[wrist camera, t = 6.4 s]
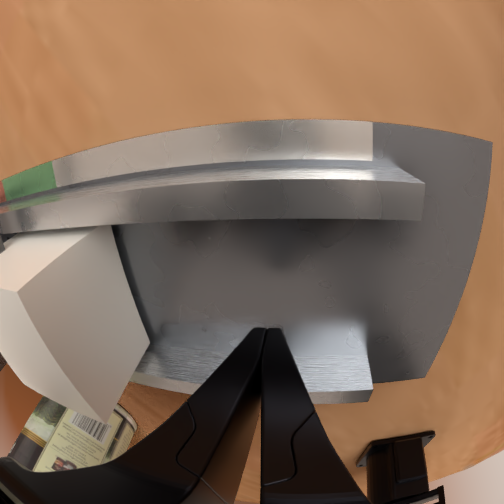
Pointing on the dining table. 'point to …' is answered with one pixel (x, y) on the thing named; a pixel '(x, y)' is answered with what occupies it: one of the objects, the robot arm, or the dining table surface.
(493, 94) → the dining table surface
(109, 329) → the white cube with rod
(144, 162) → the gauge track
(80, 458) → the coffee can
